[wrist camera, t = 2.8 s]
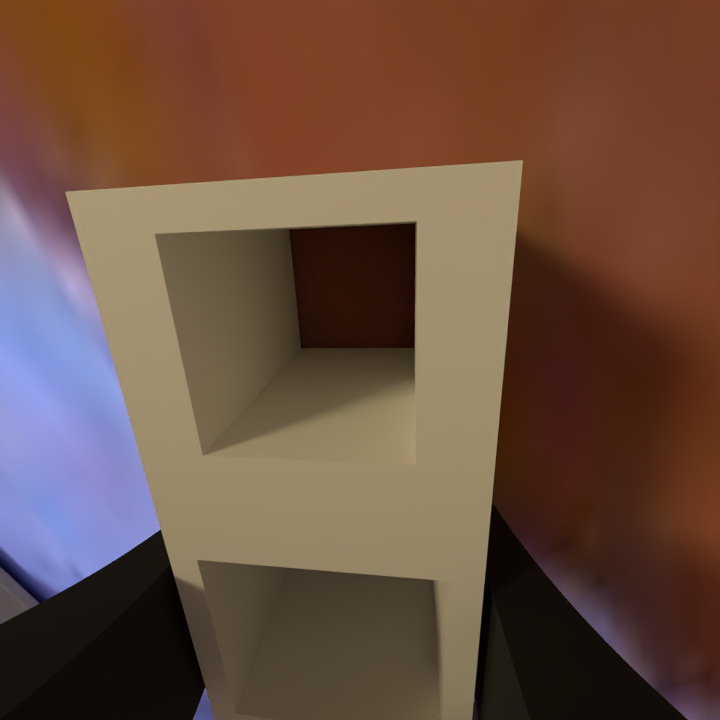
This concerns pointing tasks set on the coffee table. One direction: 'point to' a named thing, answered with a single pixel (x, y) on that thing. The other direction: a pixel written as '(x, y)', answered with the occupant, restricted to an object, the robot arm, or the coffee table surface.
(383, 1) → the coffee table surface
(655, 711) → the robot arm
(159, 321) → the block with holes
